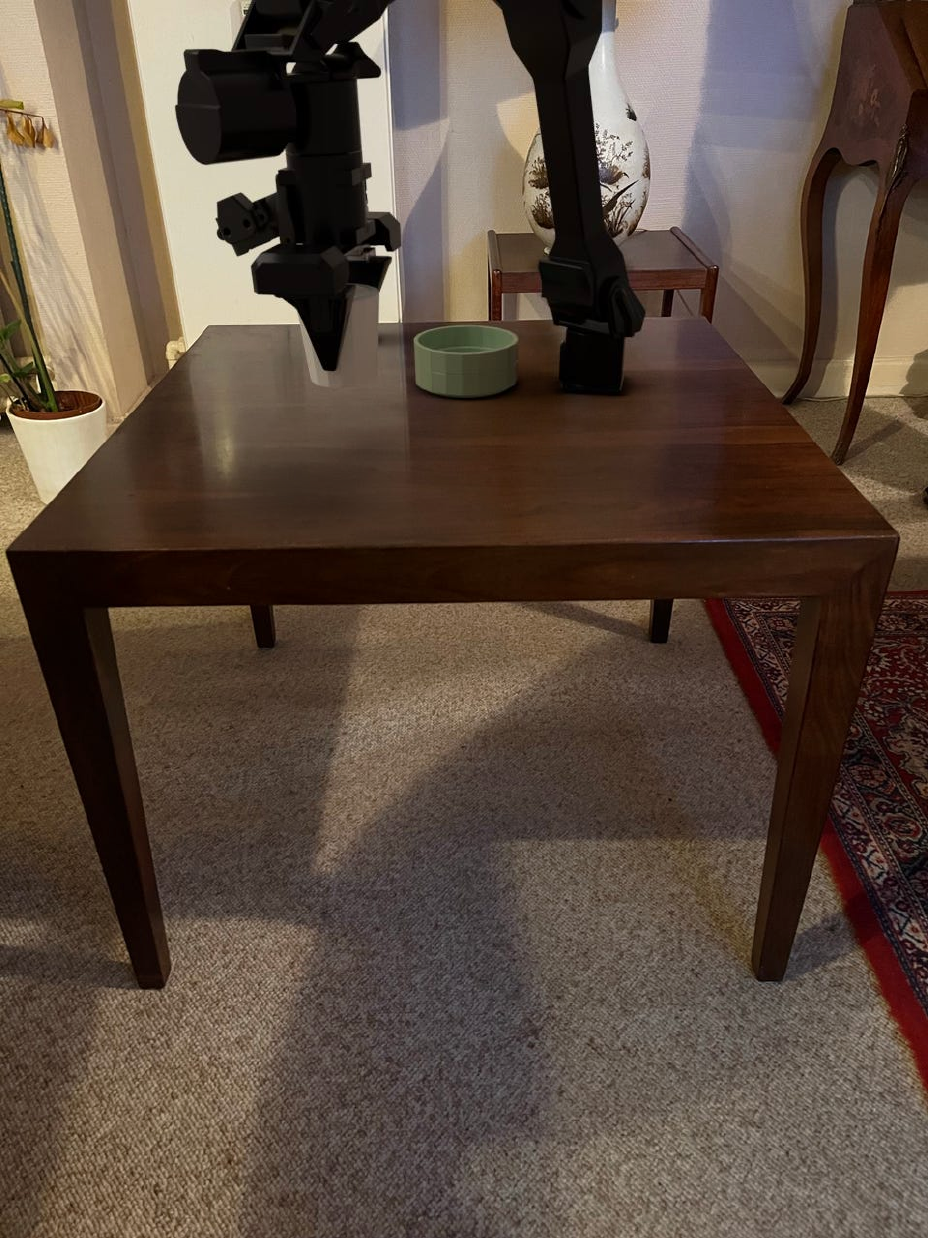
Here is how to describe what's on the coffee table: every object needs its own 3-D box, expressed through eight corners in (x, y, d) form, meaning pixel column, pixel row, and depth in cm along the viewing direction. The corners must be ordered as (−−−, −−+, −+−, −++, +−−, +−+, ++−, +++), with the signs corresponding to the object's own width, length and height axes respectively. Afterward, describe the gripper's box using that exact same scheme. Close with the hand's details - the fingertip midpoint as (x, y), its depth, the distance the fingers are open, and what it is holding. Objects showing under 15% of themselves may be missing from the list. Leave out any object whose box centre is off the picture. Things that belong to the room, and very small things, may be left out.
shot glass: (397, 367, 80) (392, 284, 77) (364, 393, 75) (357, 304, 71) (325, 361, 82) (317, 279, 79) (288, 385, 77) (277, 299, 73)
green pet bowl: (524, 370, 108) (525, 327, 105) (507, 403, 99) (507, 356, 96) (429, 365, 110) (428, 322, 107) (403, 396, 101) (401, 350, 98)
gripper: (271, 138, 79) (293, 325, 87) (165, 166, 63) (204, 390, 72) (397, 138, 76) (407, 329, 85) (320, 167, 61) (341, 397, 70)
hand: (342, 358), depth 78 cm, fingers closed on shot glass, 6 cm apart
